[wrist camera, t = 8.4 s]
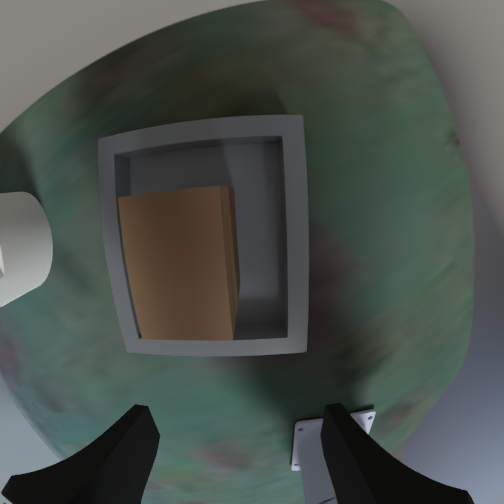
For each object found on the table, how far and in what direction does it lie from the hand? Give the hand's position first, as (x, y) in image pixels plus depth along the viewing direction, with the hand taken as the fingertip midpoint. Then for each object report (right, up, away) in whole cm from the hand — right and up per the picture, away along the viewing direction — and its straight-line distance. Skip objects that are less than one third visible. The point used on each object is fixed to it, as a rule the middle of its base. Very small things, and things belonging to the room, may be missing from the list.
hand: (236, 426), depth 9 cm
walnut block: (-2, +8, +8) cm, 11 cm away
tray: (-2, +8, +8) cm, 12 cm away
